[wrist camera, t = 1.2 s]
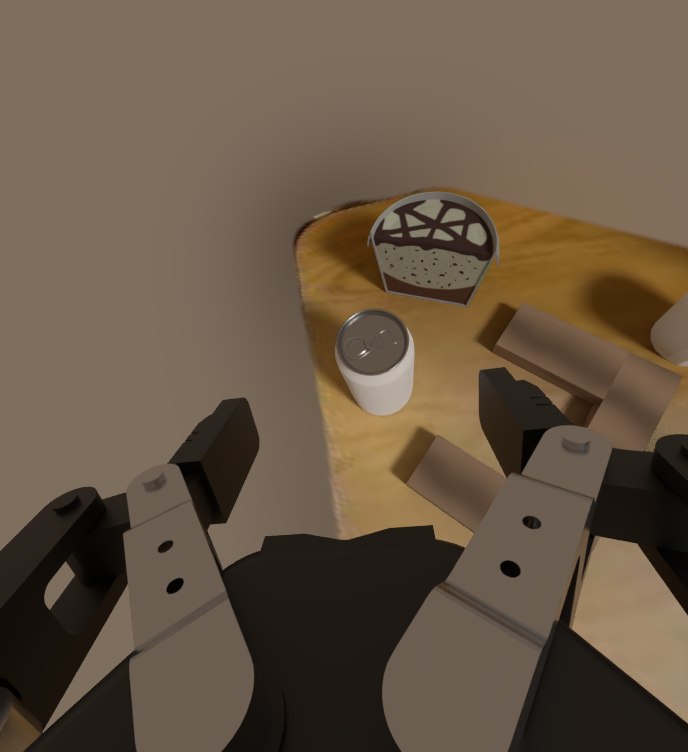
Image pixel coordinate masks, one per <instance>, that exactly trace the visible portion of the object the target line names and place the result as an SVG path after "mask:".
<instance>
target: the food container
mask: <svg viewBox="0 0 688 752" xmlns="http://www.w3.org/2000/svg"><path fill="white" fill-rule="evenodd" d="M371 240H372V244H373V248H374V251H375V255H376V258H377V262H378V266H379V269H380V273H381V276H382V280H383V284H384V287H385V291H386V293H392V294H397V295H403V296H408V297H414V298H420V299H425V300H431V301H436V302H442V303H447V304H453V305H459V306H464V307H468V305H469V303H470V301H471V299H472V297H473V295H474V294H475V292H476V290H477V288H478V286H479V284H480V283H481V281H482V279H483V277H484V275H485V273H486V272H487V270H488V268H489V266H490V264H491V262H492V260H493V259H494V257H495V256H496V266H498V262H499V238H498V234H497V231H496V228H495V225H494V223H493V221H492V219H491V217H490V216H489V215H488V214H487V212H486V211H485V210H484V209H483V208H482V207H481V206H479V205H478V204H477V203H475V202H473V201H472V200H470V199H468V198H466V197H464V196H460V195H457V194H454V193H448V192H424V193H419V194H415V195H412V196H409V197H406V198H404V199H402V200H400V201H398V202H396V203H394V204H393V205H391V206H390V207H389V208H388V209H386V210H385V211H384V212H383V213H382V214H381V215H380V216H379V218H378V219H377V220H376V222H375V223H374V225H373V227H372V229H371V231H370V234H369V236H368V241H367V246H369V244H370V242H371Z"/></svg>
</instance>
